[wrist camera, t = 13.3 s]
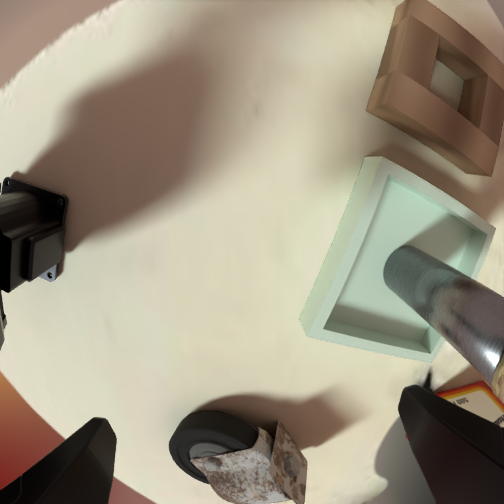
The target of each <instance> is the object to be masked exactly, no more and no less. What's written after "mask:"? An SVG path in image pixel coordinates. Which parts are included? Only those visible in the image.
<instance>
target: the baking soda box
mask: <svg viewBox="0 0 504 504" xmlns="http://www.w3.org/2000/svg"><path fill="white" fill-rule="evenodd" d="M436 395H438V396H440V397H442V398H444V399H446V400H448V401H450V402H452V403H454V404H456V405H458V406H460V407H462V408H464V409H466V410H468V411H470V412H472V413H474V414H476V415H479V416H481V417H483V418H485V419H487V420H489V421H491V422H493V423H495V424H498V425H500V426H501V427H504V404H503V403H502V402H501V401H500V399H499V398H498V397H497V396H496V395H495V394H494V393H493V392H492V389H491V388H490V387H489V386H488V385H487V384H486V383H485V382H484V381H483V380H482V381H479V382H476V383H473V384H469V385H466V386H462V387H459V388H455V389H451V390H448V391H444V392H440V393H436ZM406 437H407V435H406ZM407 439H408V438H407Z"/></svg>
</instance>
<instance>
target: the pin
mask: <svg viewBox="0 0 504 504" xmlns="http://www.w3.org/2000/svg"><path fill="white" fill-rule="evenodd" d="M383 278H384V282H385V284H386V286H387V287H388V288H389V289H390V290H391V291H392V292H393V293H395V294H396V295H397V296H398V297H399V298H400V299H401V300H403V301H404V302H405V303H406V304H407V305H408V306H409V307H410V308H412V309H413V310H414V311H415V312H416V313H417V314H418V315H419V316H421V317H422V318H423V319H424V320H425V321H426V322H427V323H428V324H429V325H430V326H432V327H433V328H434V329H435V330H436V331H437V332H438V333H439V334H440V335H441V336H442V337H443V338H444V339H445V340H447V341H448V342H449V343H450V344H451V345H452V346H453V347H454V348H455V349H456V350H457V351H458V352H459V353H460V354H461V355H462V356H463V357H464V358H465V359H466V360H467V361H468V362H469V363H470V364H472V365H473V366H474V367H475V368H476V369H477V370H478V371H479V372H480V373H481V374H482V375H483V376H484V377H485V378H486V379H487V380H488V382H489V383H490V384H491V385H492V392H493V393H494V394H495V395H496V396H497V397H498V398H499V399H500V401H501V402H502V403H503V404H504V297H502V296H501V295H499V294H498V293H496V292H494V291H493V290H491V289H489V288H488V287H486V286H484V285H483V284H481V283H479V282H478V281H476V280H474V279H472V278H471V277H469V276H467V275H465V274H464V273H462V272H460V271H458V270H457V269H455V268H453V267H451V266H450V265H448V264H446V263H444V262H442V261H440V260H439V259H437V258H435V257H433V256H431V255H429V254H427V253H426V252H424V251H422V250H420V249H418V248H416V247H414V246H411V245H405V246H401V247H399V248H397V249H396V250H394V251H393V252H392V253H391V254H390V256H389V257H388V259H387V261H386V263H385V266H384V270H383Z"/></svg>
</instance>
